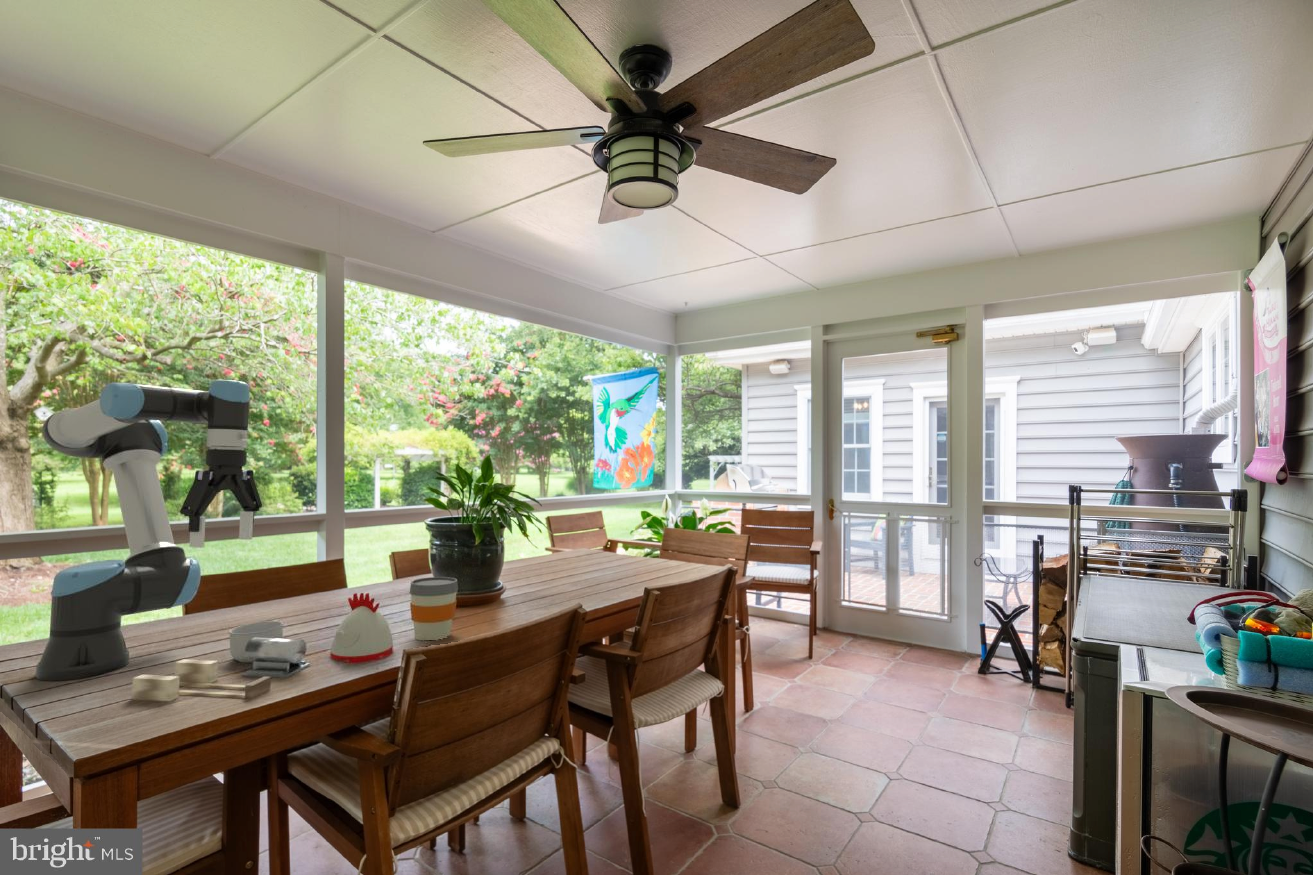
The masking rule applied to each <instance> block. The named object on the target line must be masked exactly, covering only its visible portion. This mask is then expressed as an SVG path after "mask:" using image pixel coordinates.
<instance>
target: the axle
mask: <svg viewBox="0 0 1313 875" xmlns="http://www.w3.org/2000/svg"><path fill="white" fill-rule="evenodd" d="M306 652H307V643H306V641H305V640H304V639H298V638H297V639H296V638H283V639H279V638H257V637H255V638H252V639H251V640H250V641H249V642H248V643H247V645H246V647H245V652H244V655H245V658H246V659H247V660H248V661H255V660H257V661H277V662H289V663H299V662H300V661H303V659H304V658H305V655H306Z"/></svg>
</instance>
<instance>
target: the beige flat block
mask: <svg viewBox="0 0 1313 875" xmlns="http://www.w3.org/2000/svg"><path fill="white" fill-rule="evenodd" d="M219 662H220V661H219V660H207V659H186V658H183V659H181V660H177V661H176V662H175V669H174V671H175V672H174V676H173V675H159V674H141V675H137V676H135V677H132V689H131V700H140V701H141V700H142V701H157V702H171V701H174V700H175V699H178V698H179V695H180V696H194V697H213V698H214V697H215V698H231V699H248V700H250V699H255V698H256V697H259V696H260V695H263V694H264V693H266V692H268V691H270V690H271V683H272V679H271V678H272V677H265V676H264V677H260V678H258V679H256V680H253V681H252V682H249V683H247V684H227V683H215V682H217V681H218V679H219V664H220V663H219ZM180 687H183V688H200V689H201V688H203V689H205V688H206V689H222V690H238V691H240V690H241V691H244V692H243V693H242V692H228V691H226V692H225V691H224V692H223V691H210V690H209V691H206V690H192V689H190V690H188V689H180Z"/></svg>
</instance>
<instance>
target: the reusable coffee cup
mask: <svg viewBox="0 0 1313 875" xmlns="http://www.w3.org/2000/svg"><path fill="white" fill-rule="evenodd" d="M458 591H459V586H458V579H457V578H455V577H449V576H432V577H431V576H430V577H421V578H416V579H414V580H411V581H410V587H409V594H410V599H411V601H410V603H409V606H410V608H409V609H410V617H411V621H412V622H413V630H414V638H416V639H415V640H417V641H420V640H423V641H422V642H425V641H424V640H436V641H438V640H437V639H441V638H445V639H447V638H448V637H447V636H449V635H451V630H452V624H453V623H452V622H453V618H455V616H456V615H455V613H456V607H457V602H458V601H457V592H458ZM446 637H447V638H446ZM449 637H450V636H449ZM441 640H442V639H441Z"/></svg>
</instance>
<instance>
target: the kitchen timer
mask: <svg viewBox="0 0 1313 875" xmlns="http://www.w3.org/2000/svg"><path fill="white" fill-rule="evenodd" d="M352 595H353V597H348V598H347V601H348V605H349V606H350V609H351V611H350V612H349V613H347V615H346V616H345V617H344V618H343V619H342V621H341V622H340V624H339V625H338V628H337V630H336V633H335V635H334V638H333V641H332V643H331V647H330V655H329V657H330V658H331V659H332V660H335V661H340V662H341V661H342V662H344V664H361V663H369V662H373V661H379V660H381V659H384V658H386V657H388V656H391V654H392V653H393V651H394V650H393V649H394V644H393V640H394V639H393V635H392V632H391V628H390V625H389V623H388V621H387V620H386V618H385V616H384V615H383V614H382V613H381V612H380V611H379V610H378V609H379V607H380V604H381V603H380V602H377V603H376V604H375V606H374V603H375V597H373V598H370V593H369V592H367V593H365V595H364V592H362V593H361V592H360V593H359V597H358V593H357V592H355V593H353V594H352Z"/></svg>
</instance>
